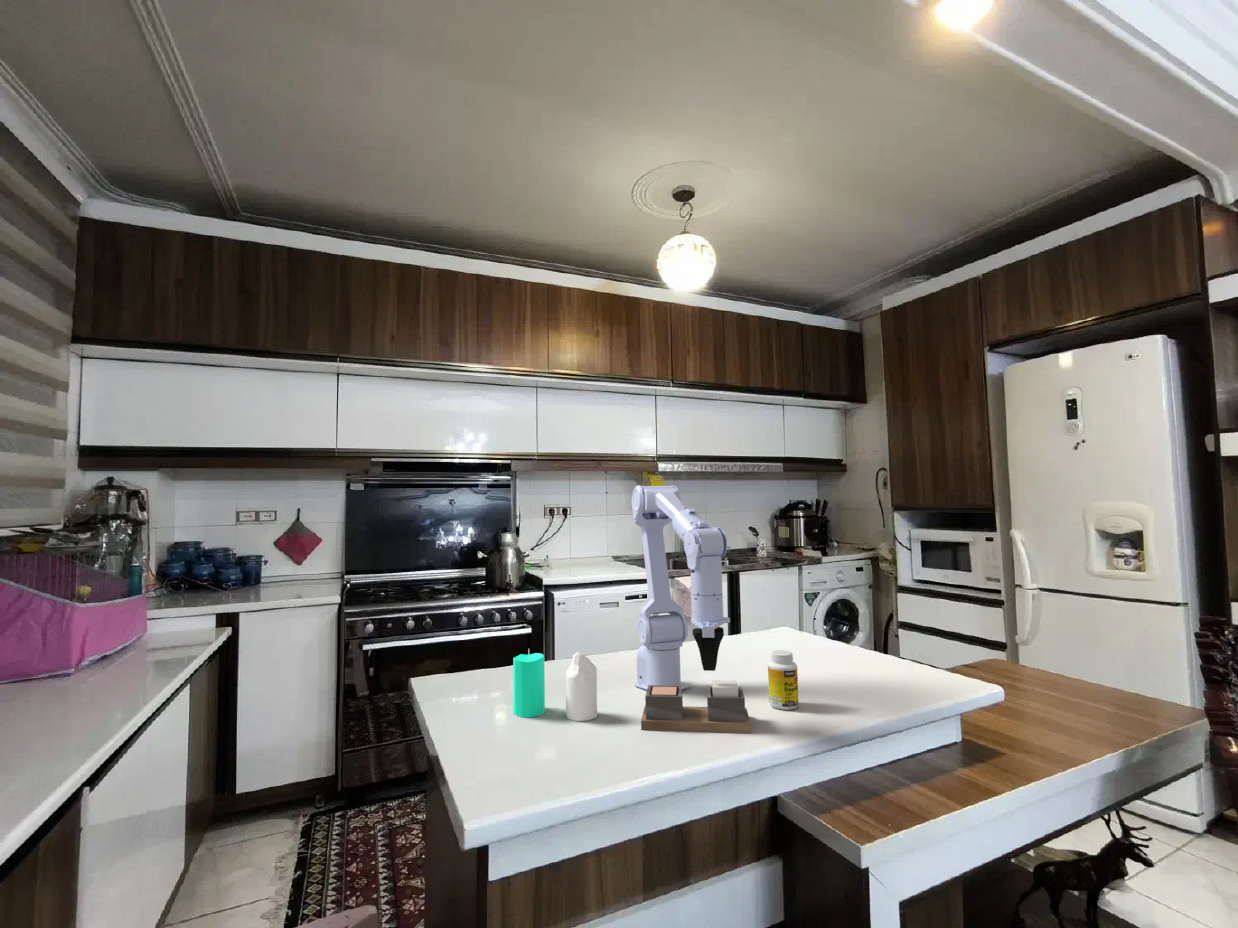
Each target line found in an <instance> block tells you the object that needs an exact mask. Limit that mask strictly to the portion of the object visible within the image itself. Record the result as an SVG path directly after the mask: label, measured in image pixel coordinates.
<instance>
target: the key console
mask: <svg viewBox="0 0 1238 928" xmlns="http://www.w3.org/2000/svg"><path fill="white" fill-rule="evenodd" d="M653 687H677V696H658V695H651V694H652V689H653ZM644 697H645V705H644V708H643V712H642V716H641V719H640V729H641V730H643V731H673V732H675V731H676V732H699V733H701V732H702V733H703V732H707V733H737V734H738V733H739V734H742V733H743V734H751V733H752V727H751V726H752V724H751V720H750V717H749V712H748V709H747V707H746V700H745V695H744V691H743V687H742V686H738V697H713V690H712V685H711V686H710V685H709V686H706V699H707V702H706V703H707V704H706V705H707V706H687V705H686V706H684V705H683V699H684V698H683V690H682V686H662V685H648V688H647V690H646V692H645V695H644Z"/></svg>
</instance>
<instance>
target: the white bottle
mask: <svg viewBox="0 0 1238 928" xmlns="http://www.w3.org/2000/svg"><path fill="white" fill-rule="evenodd" d="M597 671H598V670H597V667H596V665H595V664H594V663H593V662H592V661H591V660H590V659H589V657H587V656H586V655H585V654H582V653H580V651H577V652H576V653H573V655H572V661H571V664H569V667H568V668H567V670H566V673H565V708H566V710H565V712H566V713H565V714H566V715H565V716H566V718H567V719H569V720H570V721H576V722H585V721H586V722H587V721H591V720H594V719H596V718H597V717H598V702H597V701H598V695H597V694H598V693H597V692H598V687H597V686H598V679H597V677H598V674H597Z"/></svg>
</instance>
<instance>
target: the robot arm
mask: <svg viewBox="0 0 1238 928" xmlns="http://www.w3.org/2000/svg"><path fill="white" fill-rule="evenodd" d="M631 495H632V496H631V508H632V509H631V510H632V518H633V521H634V522H633V523H634V525H636V526H639V527H640V532H641V533H640V534H641V539H642V549H643V557H644V559H643V560H644V568H645V574H646V575H645V576H646V584H647V585H646V586H647V593H648V601H647V602H646V603H645V604H644V605H643V606H642V607H641V608H640V610H638V614H637V615H638V616H637V617H638V620H637V621H638V623H637V633H638V639H639V641H640V643H641V645H640V647H639V648H638V650H637V653H636V682H635V683H634V685H633V686H634V687H636V688H640V689H643V690H645V691H647V688H648V685H662V686H682V691H683V690H687V689H690V685H689V684H686V683H683V682H682V681H681V679H682V678H681V647H683V645H684V644H683V643H685V641H686V640H687V638H688V634H689V628H688V622H687V620H686V617H685V614H684V609H683V607H682V606H681V605H680V604H679V603H678V602H676V601H675V600H673V599H672V594H671V587H670V579H669V569H668V563H667V553H666V547H665V545H666V544H665V538H664V527H666V526H667V525H669V524H671V526H672V529H673V531H674V532H675V533H676V535H677V536H678V538H679V539H681V541H682V542H683V549H684V553H685V556H686V561H687V562H686V563H687V565H686V566H687V569H690V593H691V594H690V595H691V597H690V598H691V617H690V622H691V624H693V625H694V626H696V628H693V629H692V636H693V638H694V640H695V642H696V645H697V647H698V651H699V655H700V662H701V666H702V669H703V671H706V672H707V671H711V672H712V671H713V672H715V671H716V669H717V668H716V667H717V665H718V664H717V663H718V655H719V649H720V646H721V642H722V640H723V638H724V636H725V631H724V627H722V625H724V624H730V623H731V618H730V617H727V616H725V617H724V598H723V597H724V595H723V571H722V570H723V569H722V568H723V567H722V563H723V562H722V559H723V558H724V557H725V556H726V554H727V552H728V551H727V549H728V539H727V535H726V533H725V531H724V530H723V528H722V527H721V526H710V525H709V524H708V523H707V521H706V520H704V519H703V518H702V517H701V516H700V515H699V514H698V513H697V510H696V509H695V508H686V507H685V505H684V504H683V502H682V500H681V493H680V489H679V488H678V487H677V486H676V485H675V484H672V485H636V486H635V487H634V489H633V490H632V494H631ZM658 614H661V615H658ZM663 614H664V615H663Z"/></svg>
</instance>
